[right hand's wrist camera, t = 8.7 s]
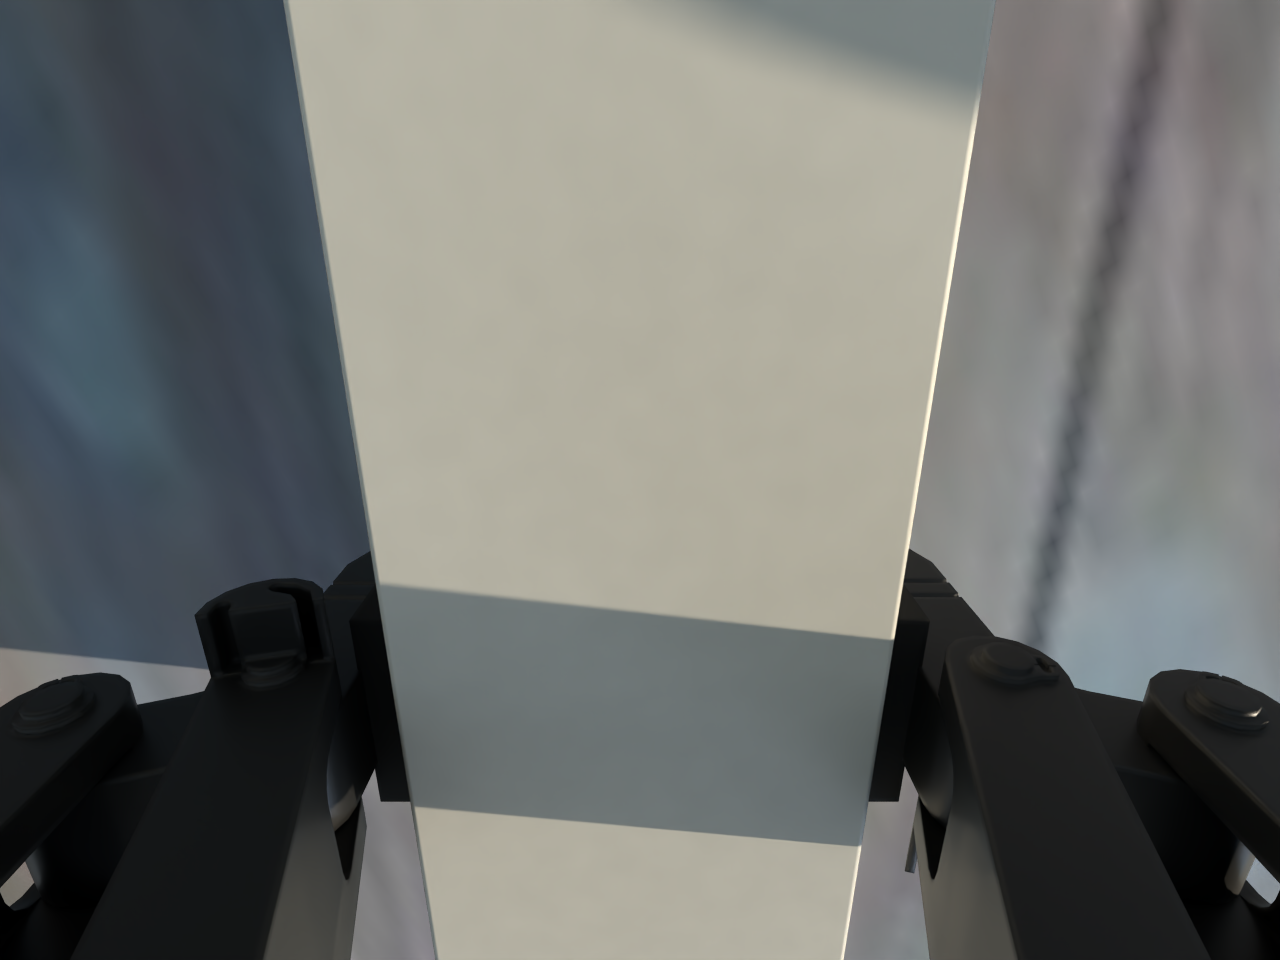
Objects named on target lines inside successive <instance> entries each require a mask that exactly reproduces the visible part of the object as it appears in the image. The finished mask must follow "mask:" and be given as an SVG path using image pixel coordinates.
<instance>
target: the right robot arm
mask: <svg viewBox="0 0 1280 960" xmlns="http://www.w3.org/2000/svg"><path fill="white" fill-rule="evenodd" d="M195 619H196V623H197V626H198V630H199V634H200V638H201V641H202V645H203V649H204V652H205V656H206V660H207V664H208V667H209V671H210V675H211V679H210V681H209V683H208V685H207V687H206V689H205V691H203V692H199V693H195V694H190V695H185V696H180V697H175V698H170V699H165V700H159V701H154V702H149V703H144V704H139V705H137V703H136V700H135V697H134V694H133V690H132V687H131V684H130V682H129V681H127V680H126V679H124V678H123V677H122V676H120V675H116V674H108V673H92V674H84V675H72V676H68V677H63V678H61V680H58V679H56V680H53V681H50V682H47V683H44V684H42V685H40V686H39V687H38V688H35V689H33V690H31V691H28V692H26V693H24V694H22V695H19V696H17V697H16V698H14V699H13V700H11V701H9V702H8V703H6V704H5V705H3V706H2V707H0V888H1V886H2V885H3V884H4V883H5V882H6V881H7V880H8V879H9V878H10V877H11V876H12V875H13V874H14V872H15V871H16V870H17V869H18V868H19V867H20V866H21V865H22V864H23V863H24V862H26V864H27V867H28V869H29V871H30V873H31V876H32V878H33V880H34V884H33V885H32V886H31V887H30V888H29V889H28V890H27V891H26V893H25V894H24V895H23V896H22V897H21V898H20V899H18V900H17V901H16V902H15V903H14V904H12V905H11V906H10V907H9V906H8V905H7V904H5V902H4V900H3V898H2V896H1V893H0V960H350V958H351V950H352V942H353V934H354V926H355V918H356V910H357V901H358V893H359V885H360V877H361V869H362V861H363V853H364V844H365V836H366V828H367V825H366V818H365V812H364V807H363V801H362V794H363V792H364V790H365V788H366V786H367V784H368V782H369V780H370V777H371V775H372V773H373V771H374V769H375V771H376V777H377V783H378V788H379V794H380V800H381V802H410V796H409V790H408V783H407V777H406V771H405V764H404V758H403V752H402V746H401V739H400V733H399V727H398V720H397V714H396V708H395V701H394V695H393V689H392V683H391V676H390V670H389V664H388V657H387V651H386V645H385V638H384V632H383V626H382V620H381V613H380V607H379V601H378V594H377V588H376V582H375V575H374V569H373V563H372V557H371V551H370V552H368V553H366V554H365V555H363V556H361V557H360V558H358V559H356V560H355V561H353V562H351V563H349V564H348V565H347V566H346V567H345V568H344V570H343V571H342V572H341V573H340V574H339V576H338V577H337V578H336V579H335V580H334V581H333V585H330V586H329V587H328V589H327V590H326V591H325V592H324V593H323V589H322V588H321V587H319V586H318V585H316V584H315V583H314V582H312V581H307V580H302V579H297V578H288V579H271V580H266V581H260V582H255V583H250V584H247V585H244V586H241V587H239V588H236V589H233V590H230V591H227V592H225V593H223V594H221V595H220V596H218V597H216V598H214V599H213V600H211V601H209V602H207V603H206V604H205V605H204V606H203V607H202V608H201V609H200V610H199V611H198V612H197V613H196V614H195ZM904 767H906V769H907V771H908V773H909V776H910V778H911V780H912V782H913V784H914V786H915V788H916V790H917V792H918V794H919V796H918V801H917V807H916V812H915V817H914V822H913V828H912V833H911V838H910V844H909V849H908V854H907V860H906V867H905V871H906V872H910V873H914V872H915V867H916V862H917V859H918V867H919V875H920V883H921V892H922V900H923V908H924V916H925V924H926V932H927V940H928V948H929V956H930V960H1280V891H1279V893H1278V895H1277V897H1276V900H1275V901H1274V902H1273V903H1272V904H1270V903H1268V902H1267V901H1266V900H1265V899H1264V898H1263V897H1262V896H1260V895H1259V894H1258V893H1257V892H1256V890H1255V889H1254V888H1253V887H1252V886H1251V885H1250V884H1249V883H1248V881H1247V880H1246V878H1247V876H1248V873H1249V871H1250V869H1251V866H1252V864H1253V862H1254V859H1255V857H1256V858H1257V859H1258V861H1259V862H1260V863H1261V864H1262V865H1263V866H1264V867H1265V868H1266V869H1267V870H1268V871H1269V872H1270V873H1271V874H1272V875H1273V877H1274V878H1275V879H1276V880H1277V881H1278V882H1279V883H1280V704H1279V703H1278V702H1276V701H1275V700H1273V699H1272V698H1270V697H1268V696H1267V695H1265V694H1264V693H1262V692H1260V691H1257V690H1255V689H1253V688H1250V687H1248V686H1246V685H1244V684H1242V683H1241V682H1239V681H1237V680H1235V679H1232V678H1229V677H1225V676H1222V677H1220V676H1219V675H1218V674H1214V673H1209V672H1199V671H1191V670H1182V669H1178V670H1170V671H1161V672H1159V673H1158V674H1157V675H1155V676H1154V677H1152V678H1151V679H1150V681H1149V684H1148V687H1147V690H1146V694H1145V697H1144V700H1143V702H1142V701H1137V700H1131V699H1126V698H1121V697H1116V696H1111V695H1105V694H1100V693H1095V692H1090V691H1085V690H1081V689H1077V688H1074V686H1073V684H1072V682H1071V680H1070V678H1069V676H1068V675H1067V674H1066V672H1065V671H1064V670H1063V669H1062V668H1061V666H1060V665H1059V664H1058V663H1057V662H1055V661H1054V660H1052V659H1051V658H1050V657H1048V656H1047V655H1045V654H1044V653H1042V652H1041V651H1039V650H1036V649H1034V648H1032V647H1029V646H1027V645H1024V644H1022V643H1020V642H1017V641H1013V640H1008V639H1004V638H1000V637H995V636H994V635H993V634H992V633H991V631H990V630H989V629H988V628H987V627H986V626H985V624H984V623H983V622H982V621H981V620H980V618H979V617H978V616H977V615H976V614H975V613H974V611H973V610H972V609H971V608H970V607H969V605H968V604H967V603H966V602H965V601H964V600H963V598H962V597H958V592H957V591H956V590H955V589H954V588H953V587H952V585H951V584H950V583H947V582H946V578H945V577H944V576H943V575H942V574H941V572H940V571H939V570H938V569H937V568H936V566H935V565H934V564H933V563H932V562H931V561H929V560H927V559H926V558H924V557H922V556H921V555H919V554H917V553H915V552H914V551H912V550H910V549H908V556H907V562H906V568H905V574H904V581H903V587H902V593H901V600H900V606H899V612H898V618H897V625H896V631H895V637H894V644H893V650H892V656H891V662H890V669H889V675H888V681H887V688H886V694H885V700H884V706H883V713H882V719H881V725H880V732H879V738H878V744H877V751H876V757H875V763H874V769H873V776H872V782H871V788H870V795H869V801H868V802H898V801H899V796H900V790H901V784H902V779H903V773H904Z"/></svg>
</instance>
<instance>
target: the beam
mask: <svg viewBox="0 0 1280 960" xmlns="http://www.w3.org/2000/svg"><path fill="white" fill-rule="evenodd" d="M283 2H284V9H285V15H286V21H287V27H288V34H289V40H290V46H291V53H292V59H293V65H294V72H295V78H296V84H297V90H298V97H299V103H300V109H301V116H302V122H303V128H304V135H305V141H306V147H307V153H308V160H309V166H310V172H311V179H312V185H313V191H314V198H315V204H316V210H317V216H318V223H319V229H320V235H321V242H322V248H323V254H324V261H325V267H326V273H327V279H328V286H329V292H330V298H331V305H332V311H333V317H334V324H335V330H336V336H337V342H338V349H339V355H340V361H341V368H342V374H343V380H344V386H345V393H346V399H347V405H348V412H349V418H350V424H351V431H352V437H353V443H354V449H355V456H356V462H357V468H358V475H359V481H360V487H361V494H362V500H363V506H364V512H365V519H366V525H367V531H368V538H369V544H370V550H371V557H372V563H373V569H374V575H375V582H376V588H377V594H378V601H379V607H380V613H381V620H382V626H383V632H384V638H385V645H386V651H387V657H388V664H389V670H390V676H391V683H392V689H393V695H394V701H395V708H396V714H397V720H398V727H399V733H400V739H401V746H402V752H403V758H404V764H405V771H406V777H407V783H408V790H409V796H410V802H411V809H412V815H413V821H414V827H415V834H416V840H417V846H418V853H419V859H420V865H421V872H422V878H423V884H424V890H425V897H426V903H427V909H428V916H429V922H430V928H431V935H432V941H433V947H434V953H435V960H843V958H844V952H845V945H846V939H847V933H848V927H849V920H850V914H851V908H852V901H853V895H854V889H855V883H856V876H857V870H858V864H859V857H860V851H861V845H862V839H863V832H864V826H865V820H866V813H867V807H868V801H869V795H870V788H871V782H872V776H873V769H874V763H875V757H876V751H877V744H878V738H879V732H880V725H881V719H882V713H883V706H884V700H885V694H886V688H887V681H888V675H889V669H890V662H891V656H892V650H893V644H894V637H895V631H896V625H897V618H898V612H899V606H900V600H901V593H902V587H903V581H904V574H905V568H906V562H907V556H908V549H909V543H910V537H911V530H912V524H913V518H914V512H915V505H916V499H917V493H918V486H919V480H920V474H921V468H922V461H923V455H924V449H925V442H926V436H927V430H928V424H929V417H930V411H931V405H932V398H933V392H934V386H935V379H936V373H937V367H938V361H939V354H940V348H941V342H942V335H943V329H944V323H945V317H946V310H947V304H948V298H949V291H950V285H951V279H952V273H953V266H954V260H955V254H956V247H957V241H958V235H959V229H960V222H961V216H962V210H963V203H964V197H965V191H966V185H967V178H968V172H969V166H970V159H971V153H972V147H973V141H974V134H975V128H976V122H977V115H978V109H979V103H980V97H981V90H982V84H983V78H984V71H985V65H986V59H987V53H988V46H989V40H990V34H991V27H992V21H993V15H994V8H995V2H996V0H283Z"/></svg>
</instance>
